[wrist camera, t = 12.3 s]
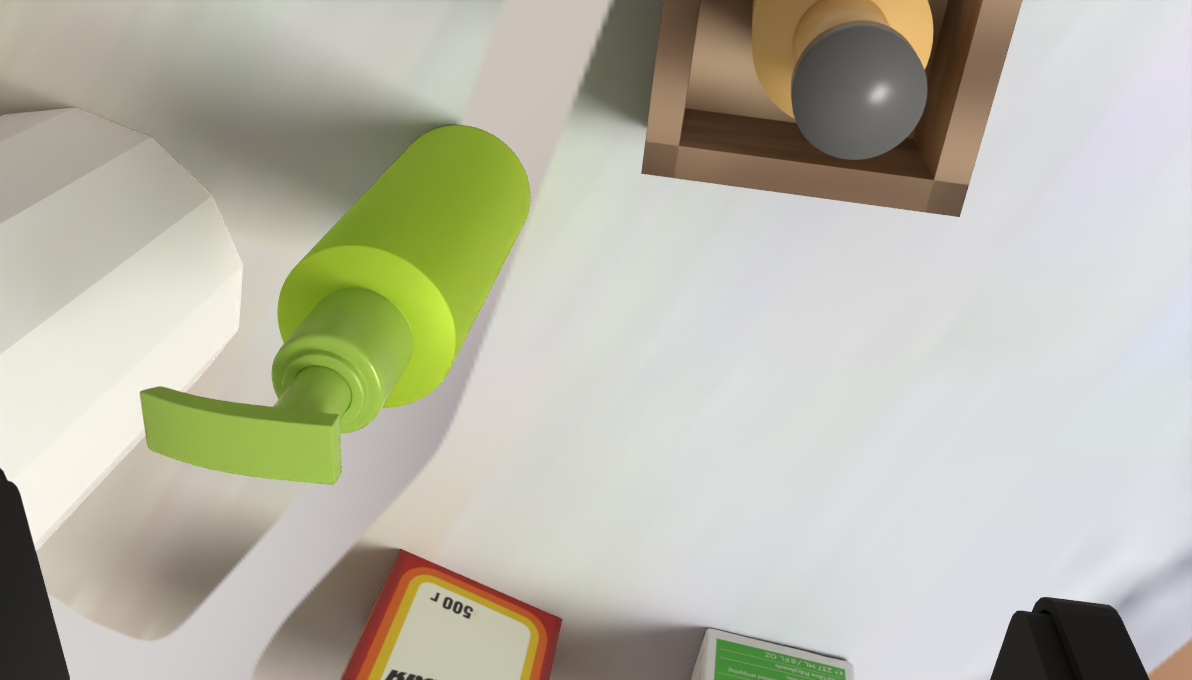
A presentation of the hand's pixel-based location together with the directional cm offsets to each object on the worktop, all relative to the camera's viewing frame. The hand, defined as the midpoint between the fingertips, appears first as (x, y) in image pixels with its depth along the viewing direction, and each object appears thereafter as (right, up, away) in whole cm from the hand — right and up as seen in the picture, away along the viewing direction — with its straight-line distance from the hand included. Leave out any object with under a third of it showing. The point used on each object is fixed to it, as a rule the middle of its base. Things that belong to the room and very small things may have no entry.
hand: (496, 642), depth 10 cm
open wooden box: (+9, +16, +29) cm, 34 cm away
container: (-23, +7, +39) cm, 45 cm away
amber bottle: (+9, +16, +28) cm, 34 cm away
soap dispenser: (-5, +9, +34) cm, 36 cm away
